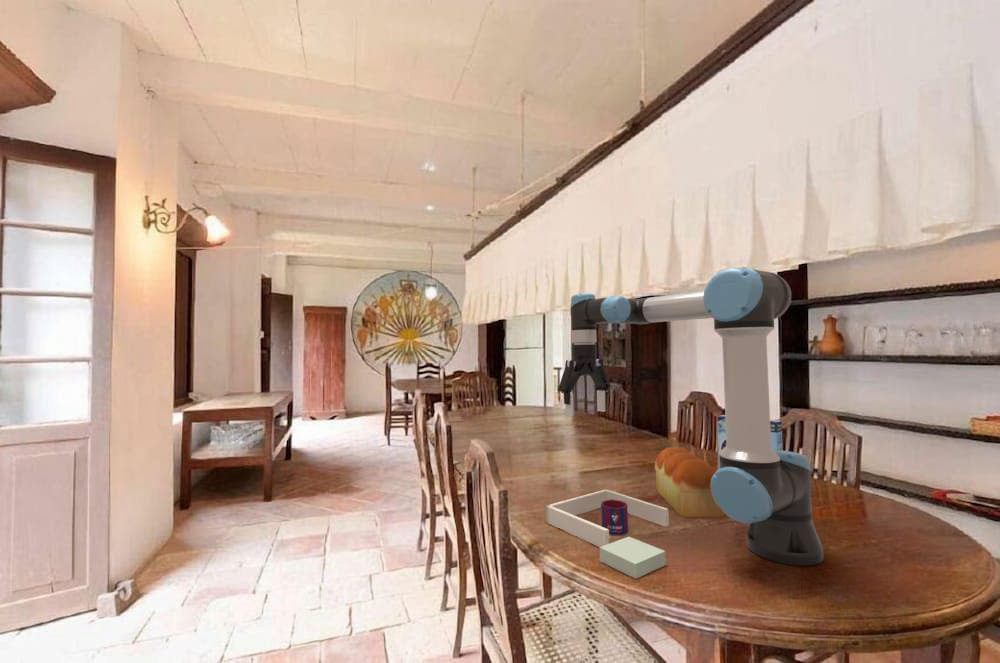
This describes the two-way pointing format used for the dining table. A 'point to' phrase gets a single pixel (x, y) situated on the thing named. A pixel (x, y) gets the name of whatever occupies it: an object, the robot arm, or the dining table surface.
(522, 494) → the dining table surface
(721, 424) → the gum box
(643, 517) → the white u-shaped frame
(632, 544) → the stand
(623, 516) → the mug
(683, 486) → the bread
